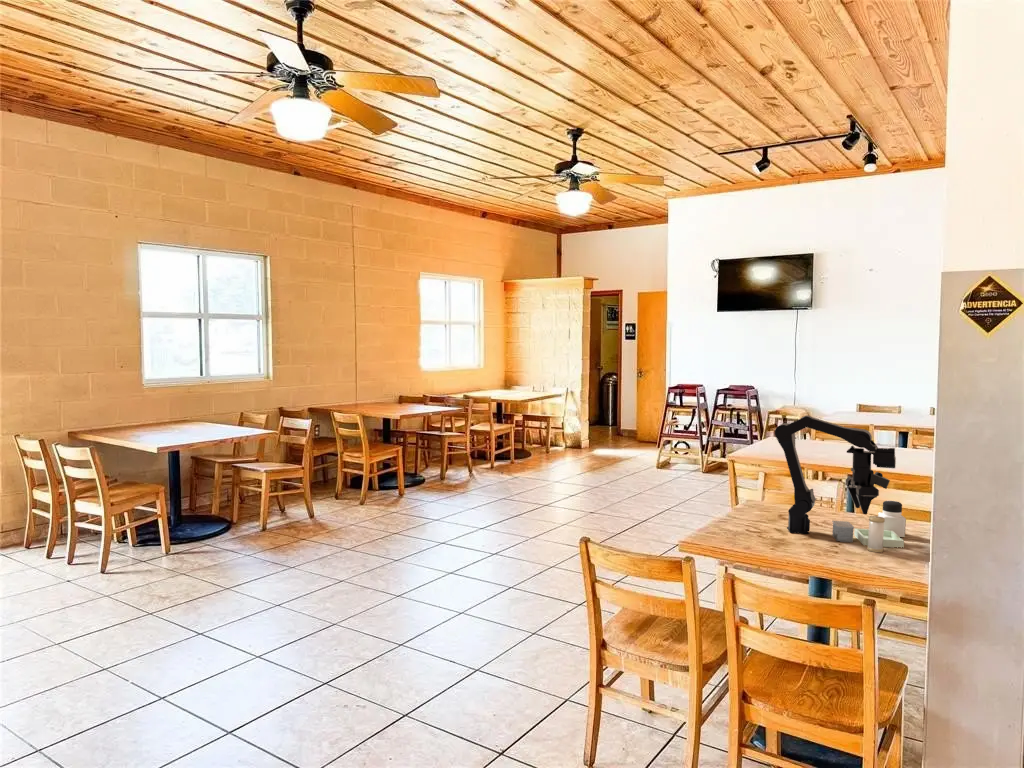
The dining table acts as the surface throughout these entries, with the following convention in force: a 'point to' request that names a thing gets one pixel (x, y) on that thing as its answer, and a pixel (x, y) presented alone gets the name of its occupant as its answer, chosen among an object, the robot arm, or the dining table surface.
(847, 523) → the box
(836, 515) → the dining table surface
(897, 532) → the medicine bottle
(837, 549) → the dining table surface
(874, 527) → the fuse
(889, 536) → the tray
